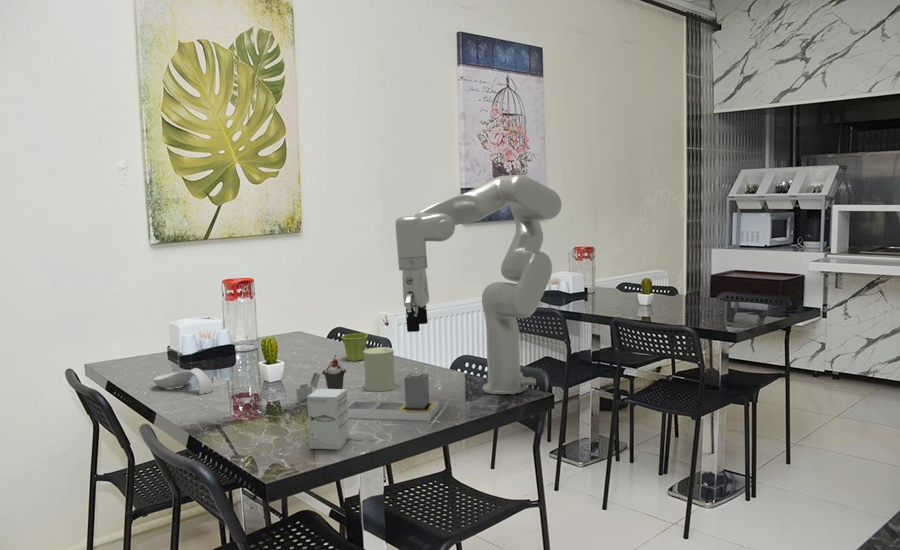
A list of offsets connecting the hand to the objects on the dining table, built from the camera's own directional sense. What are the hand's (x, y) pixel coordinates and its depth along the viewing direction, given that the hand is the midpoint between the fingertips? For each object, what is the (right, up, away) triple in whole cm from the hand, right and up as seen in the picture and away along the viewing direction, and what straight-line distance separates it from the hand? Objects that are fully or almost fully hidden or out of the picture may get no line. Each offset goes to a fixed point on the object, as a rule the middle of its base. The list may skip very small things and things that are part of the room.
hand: (417, 327), depth 192 cm
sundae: (-23, -23, +9) cm, 34 cm away
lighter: (-32, -23, +16) cm, 42 cm away
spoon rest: (-75, -22, +36) cm, 86 cm away
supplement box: (-20, -26, -22) cm, 39 cm away
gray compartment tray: (-7, -23, -3) cm, 24 cm away
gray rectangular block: (0, -22, -4) cm, 22 cm away
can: (-13, -21, +28) cm, 37 cm away
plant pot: (-25, -17, +69) cm, 75 cm away
